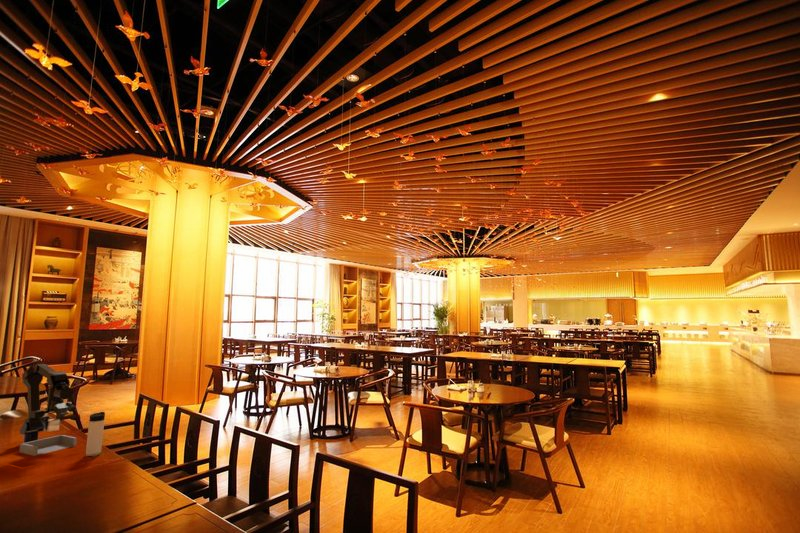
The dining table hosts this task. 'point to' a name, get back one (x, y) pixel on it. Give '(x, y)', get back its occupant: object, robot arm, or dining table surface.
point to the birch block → (53, 425)
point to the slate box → (47, 445)
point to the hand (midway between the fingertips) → (51, 428)
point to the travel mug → (95, 434)
